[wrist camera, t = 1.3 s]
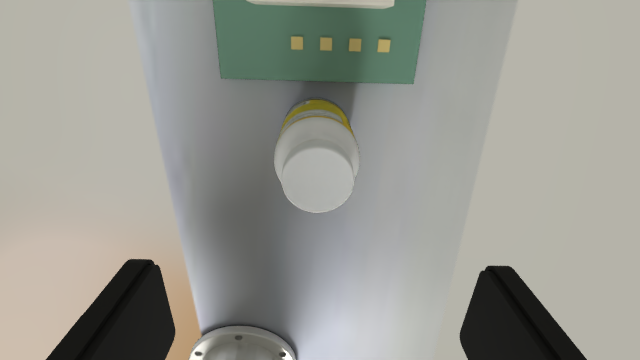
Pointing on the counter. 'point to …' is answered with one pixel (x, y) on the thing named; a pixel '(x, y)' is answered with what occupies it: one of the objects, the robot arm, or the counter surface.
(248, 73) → the board
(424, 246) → the counter surface
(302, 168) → the supplement bottle
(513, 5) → the counter surface
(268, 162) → the counter surface
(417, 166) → the counter surface
